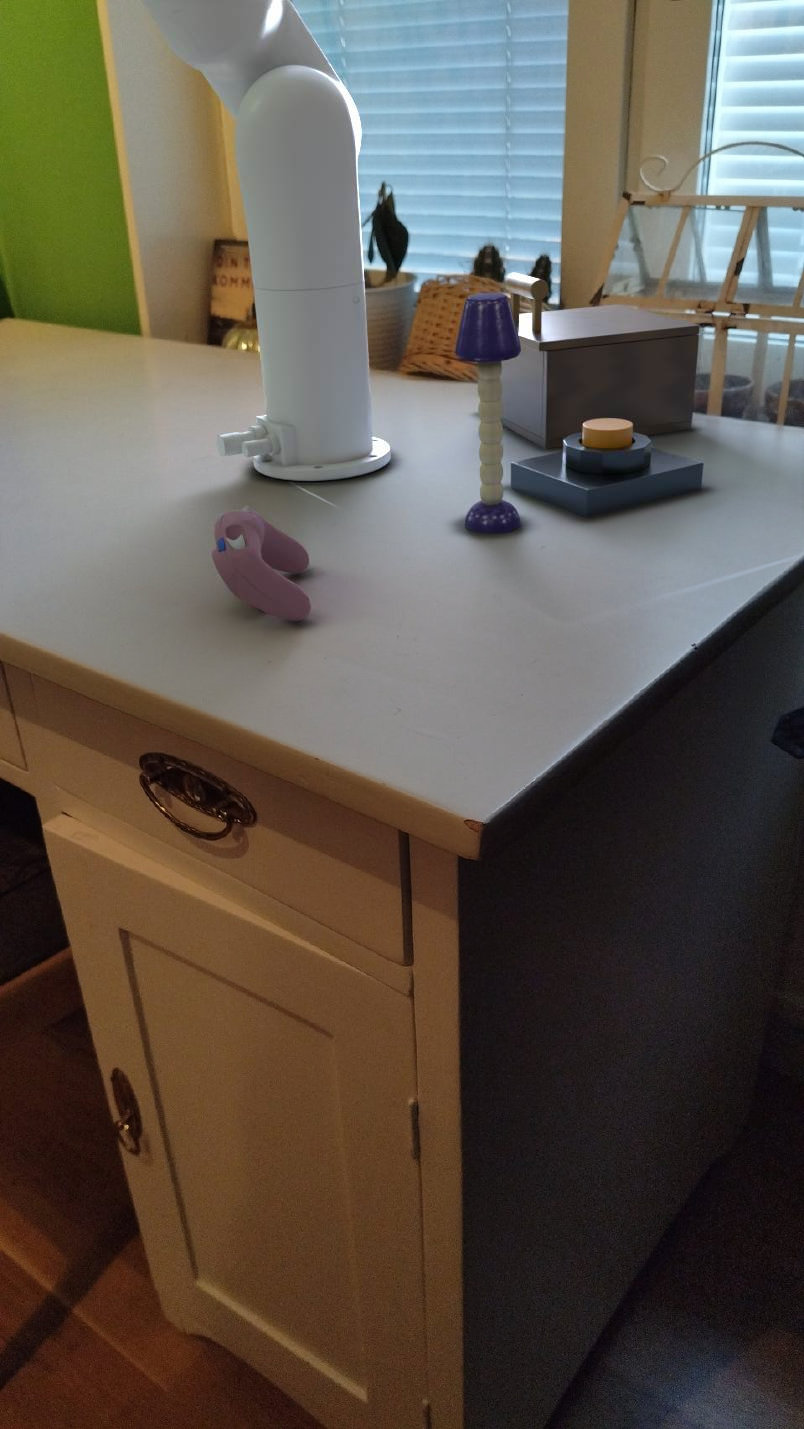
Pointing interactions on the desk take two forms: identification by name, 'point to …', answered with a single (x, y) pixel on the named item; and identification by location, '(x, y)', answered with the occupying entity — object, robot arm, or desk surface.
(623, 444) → the button
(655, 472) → the control block
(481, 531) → the toy lamp
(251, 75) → the robot arm
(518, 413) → the brown square box
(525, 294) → the lid
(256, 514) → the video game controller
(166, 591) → the desk surface
